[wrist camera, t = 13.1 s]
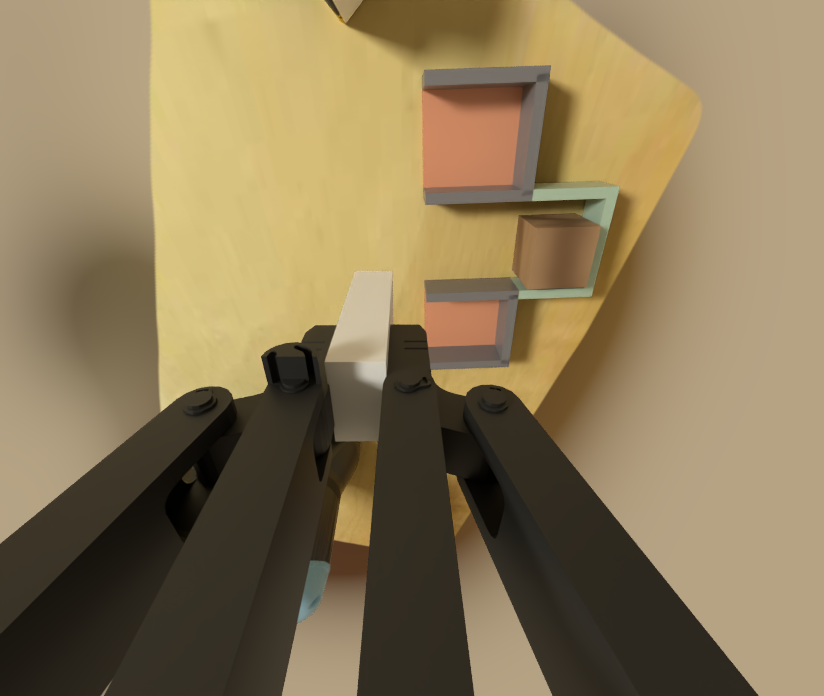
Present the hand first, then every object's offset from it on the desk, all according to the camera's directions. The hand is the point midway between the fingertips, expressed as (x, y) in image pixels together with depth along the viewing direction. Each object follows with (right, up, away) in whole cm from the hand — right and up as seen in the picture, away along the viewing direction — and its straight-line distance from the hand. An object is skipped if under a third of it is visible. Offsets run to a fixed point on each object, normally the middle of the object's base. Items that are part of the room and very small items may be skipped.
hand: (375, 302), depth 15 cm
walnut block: (+16, +10, +24) cm, 31 cm away
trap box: (+12, +10, +24) cm, 29 cm away
